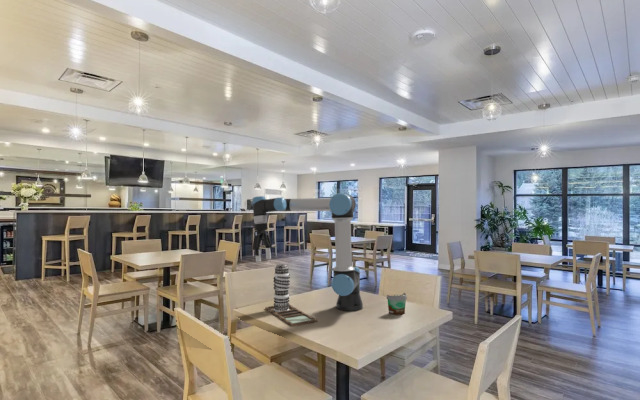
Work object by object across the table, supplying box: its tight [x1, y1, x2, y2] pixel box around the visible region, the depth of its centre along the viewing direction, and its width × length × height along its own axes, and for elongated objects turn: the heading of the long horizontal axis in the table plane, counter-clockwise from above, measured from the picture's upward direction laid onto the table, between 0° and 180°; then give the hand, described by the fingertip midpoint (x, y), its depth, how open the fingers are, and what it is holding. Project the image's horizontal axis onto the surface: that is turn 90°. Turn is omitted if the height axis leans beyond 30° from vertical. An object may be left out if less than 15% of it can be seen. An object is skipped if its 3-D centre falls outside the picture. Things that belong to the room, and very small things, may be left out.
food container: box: [386, 292, 408, 316], centre depth 190 cm, size 12×6×10 cm, turn 117°
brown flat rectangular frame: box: [265, 304, 318, 327], centre depth 187 cm, size 34×14×1 cm, turn 30°
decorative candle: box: [273, 263, 291, 312], centre depth 196 cm, size 9×9×25 cm
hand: (263, 260), depth 202 cm, fingers open, 13 cm apart
